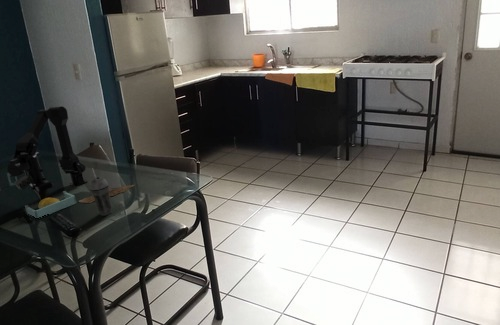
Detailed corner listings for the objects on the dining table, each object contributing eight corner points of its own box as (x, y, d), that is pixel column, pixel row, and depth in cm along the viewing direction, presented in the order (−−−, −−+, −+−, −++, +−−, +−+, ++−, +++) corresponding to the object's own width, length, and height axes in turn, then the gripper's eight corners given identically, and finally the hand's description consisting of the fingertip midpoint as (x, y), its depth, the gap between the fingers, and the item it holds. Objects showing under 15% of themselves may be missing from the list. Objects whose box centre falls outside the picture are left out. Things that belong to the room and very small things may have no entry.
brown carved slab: (80, 206, 178) (80, 204, 177) (76, 199, 187) (76, 197, 186) (138, 189, 190) (138, 187, 189) (131, 183, 199) (131, 181, 198)
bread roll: (51, 202, 187) (48, 194, 186) (63, 204, 183) (61, 196, 181) (34, 209, 180) (32, 201, 179) (47, 212, 176) (44, 203, 175)
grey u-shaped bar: (27, 214, 176) (24, 205, 175) (67, 198, 188) (64, 190, 187) (36, 219, 169) (33, 210, 168) (77, 203, 182) (74, 194, 180)
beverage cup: (118, 209, 169) (107, 164, 163) (107, 217, 163) (95, 170, 156) (104, 208, 172) (92, 164, 165) (93, 216, 165) (80, 170, 159)
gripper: (6, 170, 179) (16, 202, 184) (21, 177, 167) (32, 212, 172) (32, 162, 187) (41, 193, 192) (48, 168, 175) (58, 202, 180)
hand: (42, 200), depth 184 cm, fingers closed
